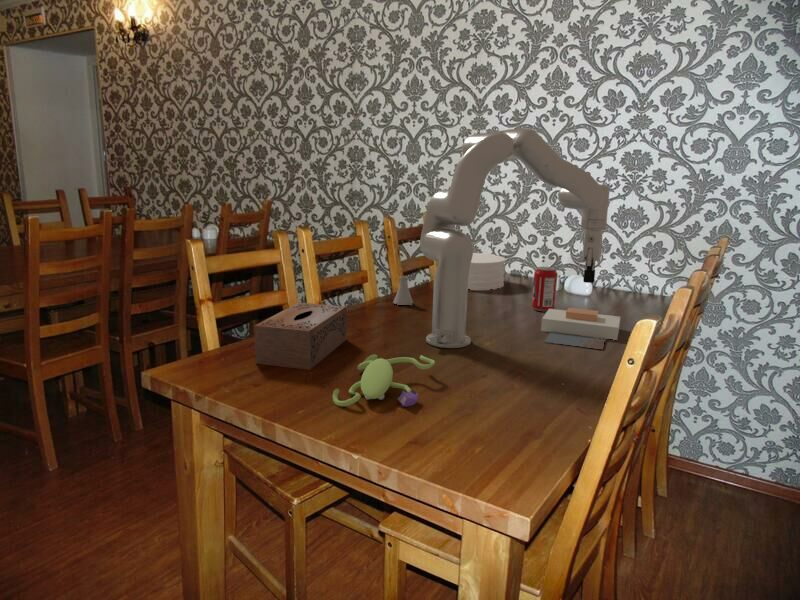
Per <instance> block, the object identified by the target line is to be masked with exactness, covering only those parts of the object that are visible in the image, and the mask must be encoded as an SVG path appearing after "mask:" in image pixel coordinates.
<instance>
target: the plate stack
mask: <svg viewBox="0 0 800 600" xmlns="http://www.w3.org/2000/svg"><path fill="white" fill-rule="evenodd" d="M505 263H506V258H505V257H504V256H501V255H498V254H497V255H496V254H491V253H481V252H473V256H472V260H471V264H470V269H469V277H468V289H470V290H469V291H491V290H490V289H493V290H498V289H497V288H499V289H501V287H502V288H503V287H504V286H505V276H504V275H505V274H506V272H505V271H506V270H505V268H506V264H505Z"/></svg>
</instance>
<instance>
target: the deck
mask: <svg viewBox="0 0 800 600" xmlns="http://www.w3.org/2000/svg"><path fill="white" fill-rule="evenodd" d="M566 311H567V309H566V310H565V309H557V308H556V309H555V308H554V309H548V311H547V312H545V314H544V315H543V317H542V318H541V323H540V325H541V327H540V332H546V333H550V332H558V333H566V334H574V335H583V336H590V337H599V338H606V340H607V339H613V340H612V341H614V340H617V341H618V337H619V332H620V325H621V318H622V317H621V316H616V315H610V314H609V315H608V314H601V313H600V314H599V313H598V318H597V321H596V322H595V321H586V320H578V319H569V318H566Z"/></svg>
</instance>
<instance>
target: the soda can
mask: <svg viewBox="0 0 800 600" xmlns="http://www.w3.org/2000/svg"><path fill="white" fill-rule="evenodd" d="M556 269H557V268H555V267H550V266H537V267H536V270H535V271H534V273H533V274H534V275H533V286H532V287H533V288H532V298H531V299H532V300H531V307H532V309H534V310H535V311H538V312H544V313H546V312H547V311H548V309H555V307H556V305H555V304H556V298H557V297H556V295H557V285H558V284H557V283H558V272H557V270H556Z"/></svg>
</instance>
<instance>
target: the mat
mask: <svg viewBox="0 0 800 600" xmlns="http://www.w3.org/2000/svg"><path fill="white" fill-rule="evenodd" d="M591 338H594V337H590V336H582V335H574V334H566V333H558V332H549V334H548V335H547V338H546V339H545V340H544V343H545V344H550V343H554V344H553V345H558V344H563V345H562V346H565V345H572V346H571V347H573V346H580V347H581V346H583V345H582V344H584V343H585V342H586V343H588V339H589V340H592V342H591V344H593V343H594V340H593V339H591ZM596 338H597V337H596ZM596 338H594V339H595V340H597V341H599V340H598V339H596ZM580 339H581V340H582V341H583V342H581V343H579V342H580ZM599 339H600V341H606V340H607V339H605V338H602V339H601V338H599ZM600 341H599V342H600ZM606 342H607V341H606ZM586 343H585V344H586ZM591 344H590V343H589V344H588V345H591ZM588 345H587V346H588ZM580 347H579V348H580ZM588 347H591V346H588Z"/></svg>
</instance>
